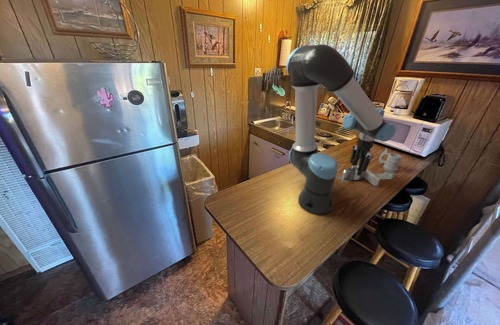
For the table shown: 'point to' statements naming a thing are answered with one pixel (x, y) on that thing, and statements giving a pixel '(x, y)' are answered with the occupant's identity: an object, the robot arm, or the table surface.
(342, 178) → the grey knobbed fixture
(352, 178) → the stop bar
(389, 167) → the mug
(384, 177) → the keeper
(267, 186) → the table surface
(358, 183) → the table surface
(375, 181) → the door edge
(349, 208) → the table surface
